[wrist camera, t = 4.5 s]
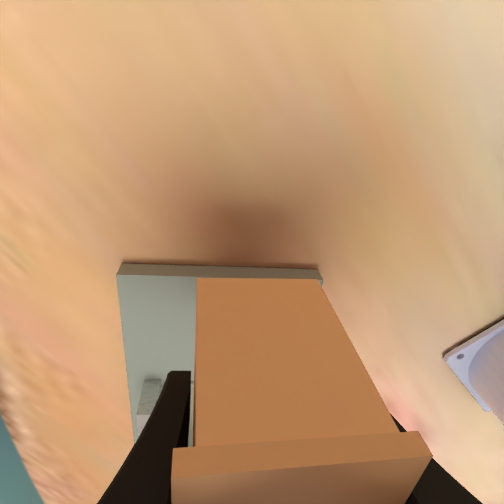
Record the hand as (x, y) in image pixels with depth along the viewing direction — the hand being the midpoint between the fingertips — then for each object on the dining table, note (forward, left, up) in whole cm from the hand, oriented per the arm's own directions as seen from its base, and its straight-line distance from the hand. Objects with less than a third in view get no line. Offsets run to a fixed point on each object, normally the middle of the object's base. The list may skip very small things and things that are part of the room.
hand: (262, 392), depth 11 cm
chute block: (0, 0, -2) cm, 2 cm away
